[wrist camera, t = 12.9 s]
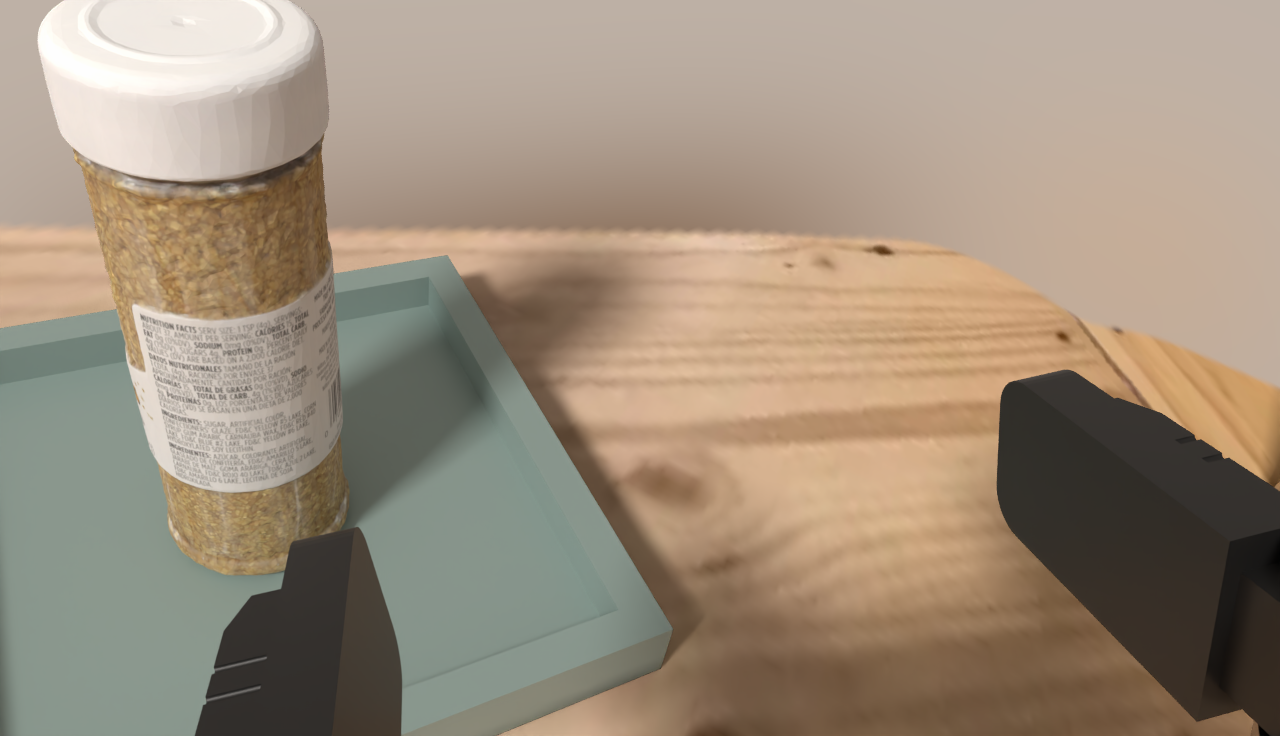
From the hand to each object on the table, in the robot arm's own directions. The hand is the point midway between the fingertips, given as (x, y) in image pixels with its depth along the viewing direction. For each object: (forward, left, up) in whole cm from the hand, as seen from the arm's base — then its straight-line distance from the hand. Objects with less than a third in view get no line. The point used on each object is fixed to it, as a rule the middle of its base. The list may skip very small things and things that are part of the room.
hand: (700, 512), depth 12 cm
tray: (+4, -12, -13) cm, 18 cm away
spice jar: (+4, -12, -12) cm, 18 cm away
